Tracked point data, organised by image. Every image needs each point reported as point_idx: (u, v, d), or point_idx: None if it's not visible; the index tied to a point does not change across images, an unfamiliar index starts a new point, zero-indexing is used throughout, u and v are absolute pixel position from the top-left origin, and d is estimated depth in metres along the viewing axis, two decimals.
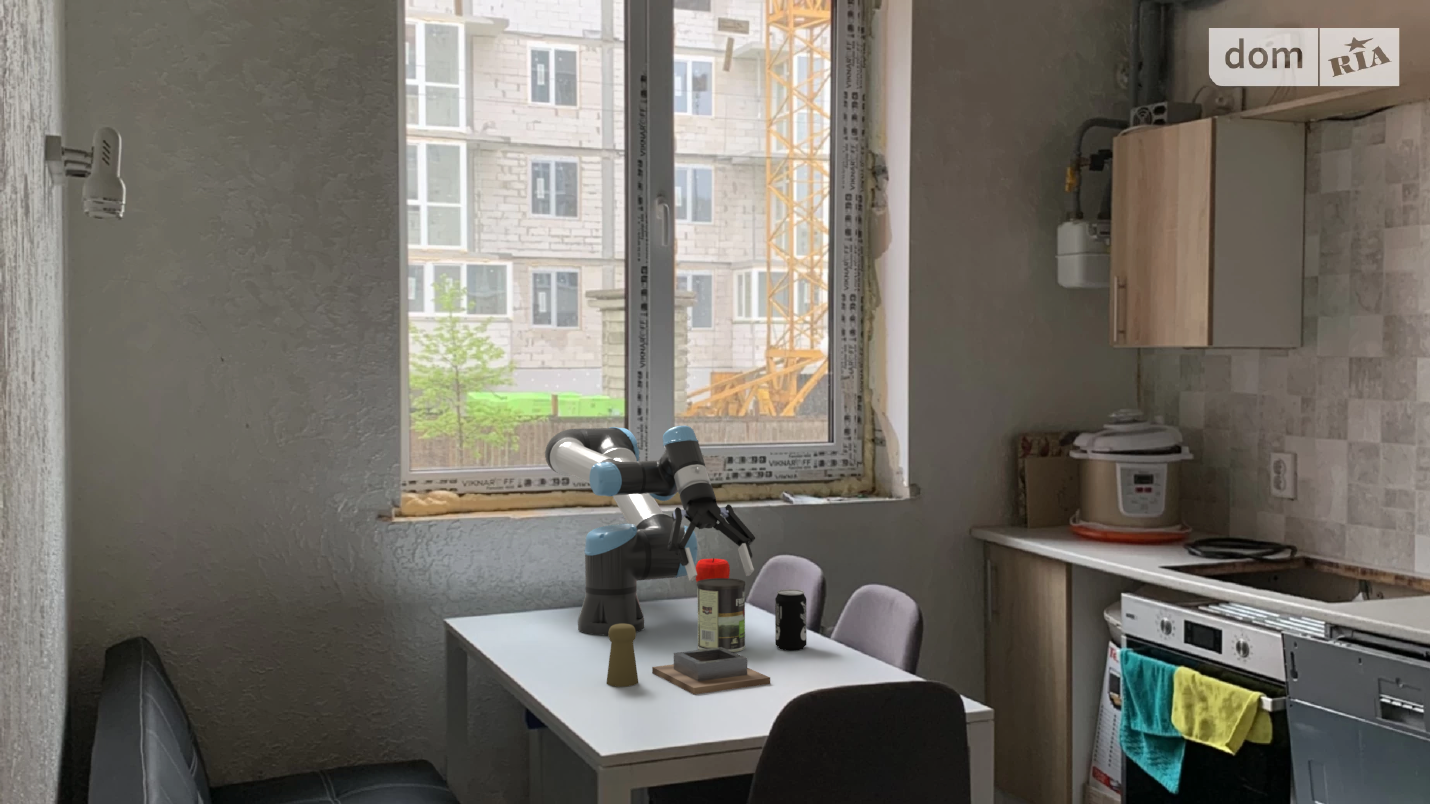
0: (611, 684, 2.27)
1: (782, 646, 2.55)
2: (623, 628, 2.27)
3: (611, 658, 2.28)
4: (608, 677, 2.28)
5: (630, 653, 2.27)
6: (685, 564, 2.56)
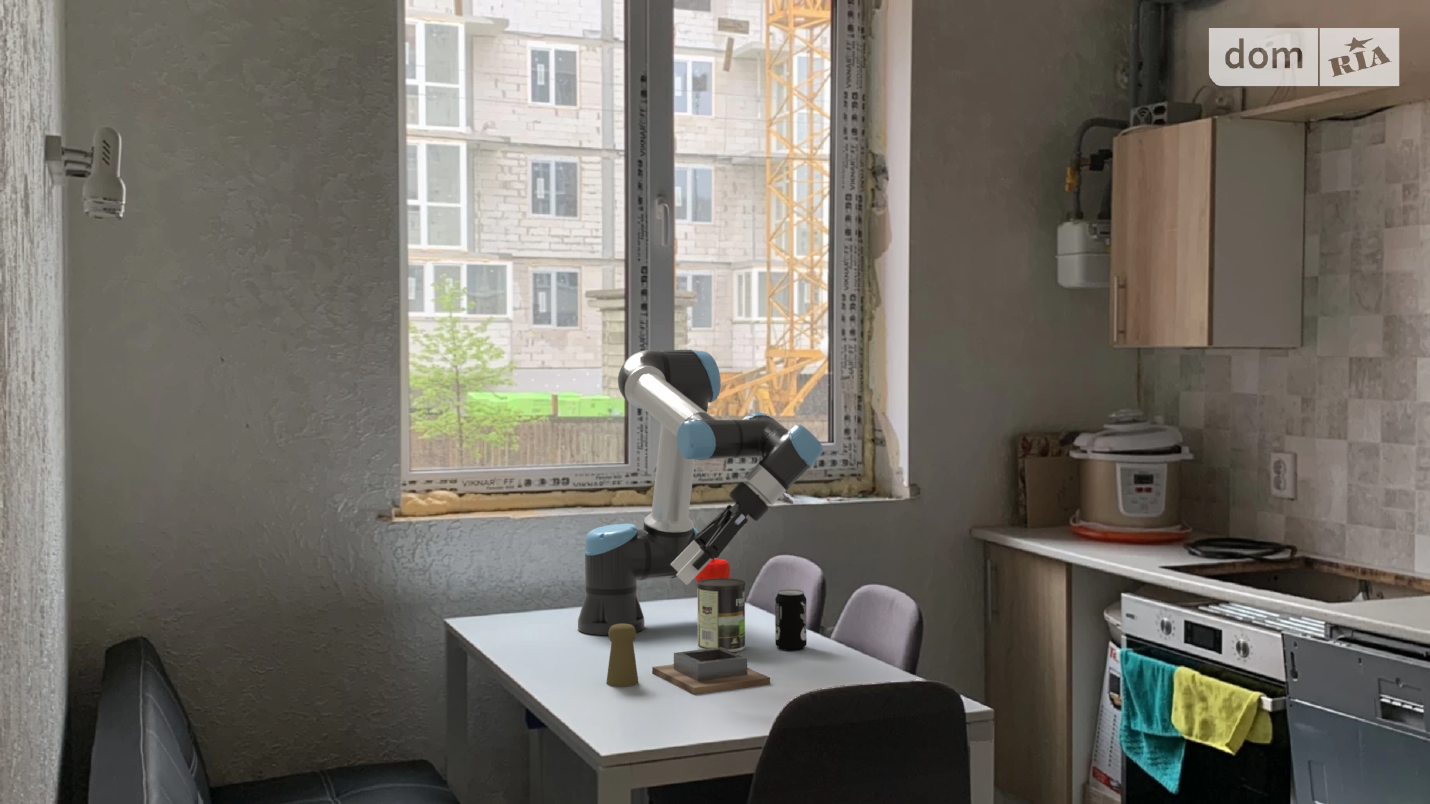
0: (611, 684, 2.27)
1: (782, 646, 2.55)
2: (623, 628, 2.27)
3: (611, 658, 2.28)
4: (608, 677, 2.28)
5: (630, 653, 2.27)
6: (694, 566, 2.23)
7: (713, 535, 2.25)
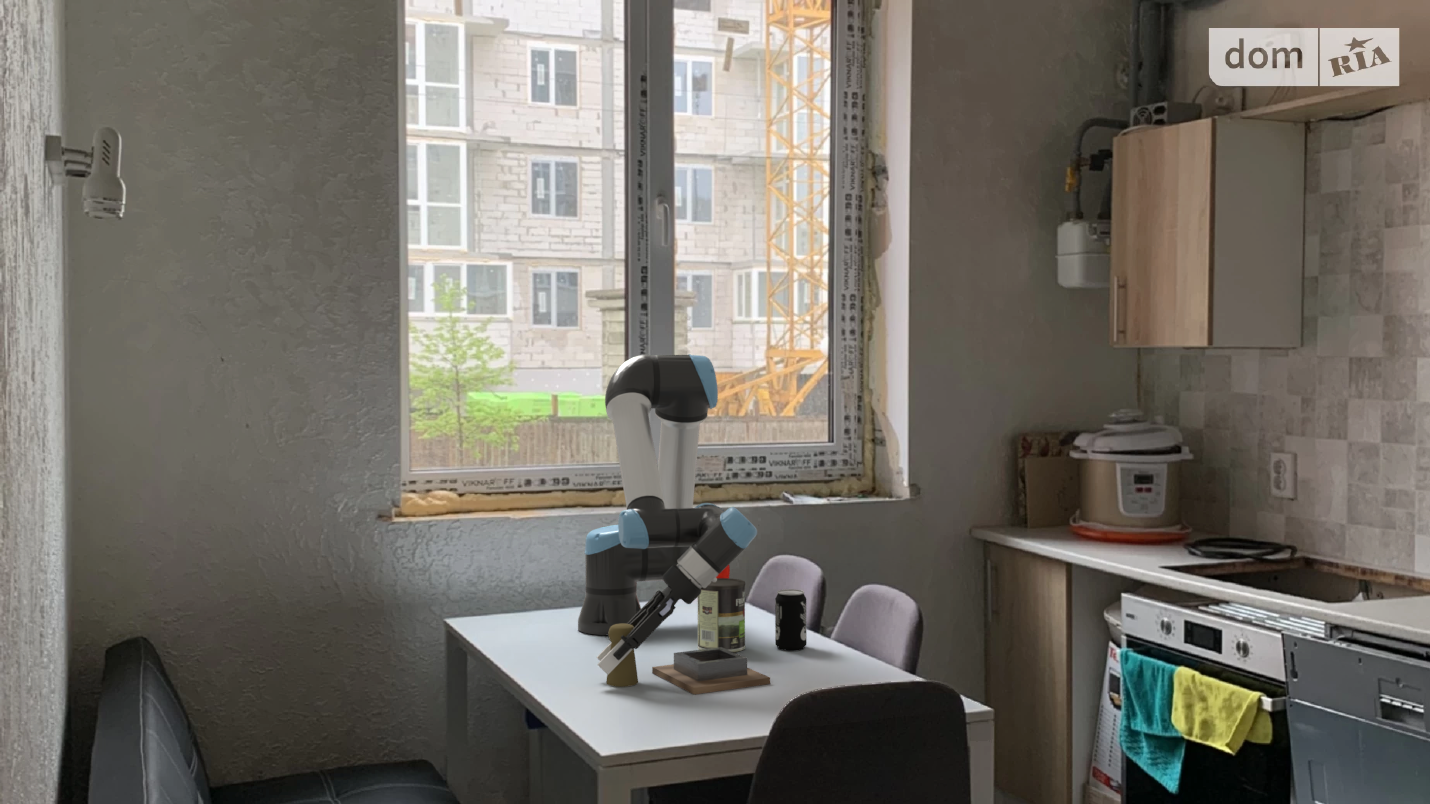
0: (611, 684, 2.27)
1: (782, 646, 2.55)
2: (623, 628, 2.27)
3: None
4: (608, 677, 2.28)
5: (630, 653, 2.27)
6: (614, 656, 2.25)
7: (639, 622, 2.27)
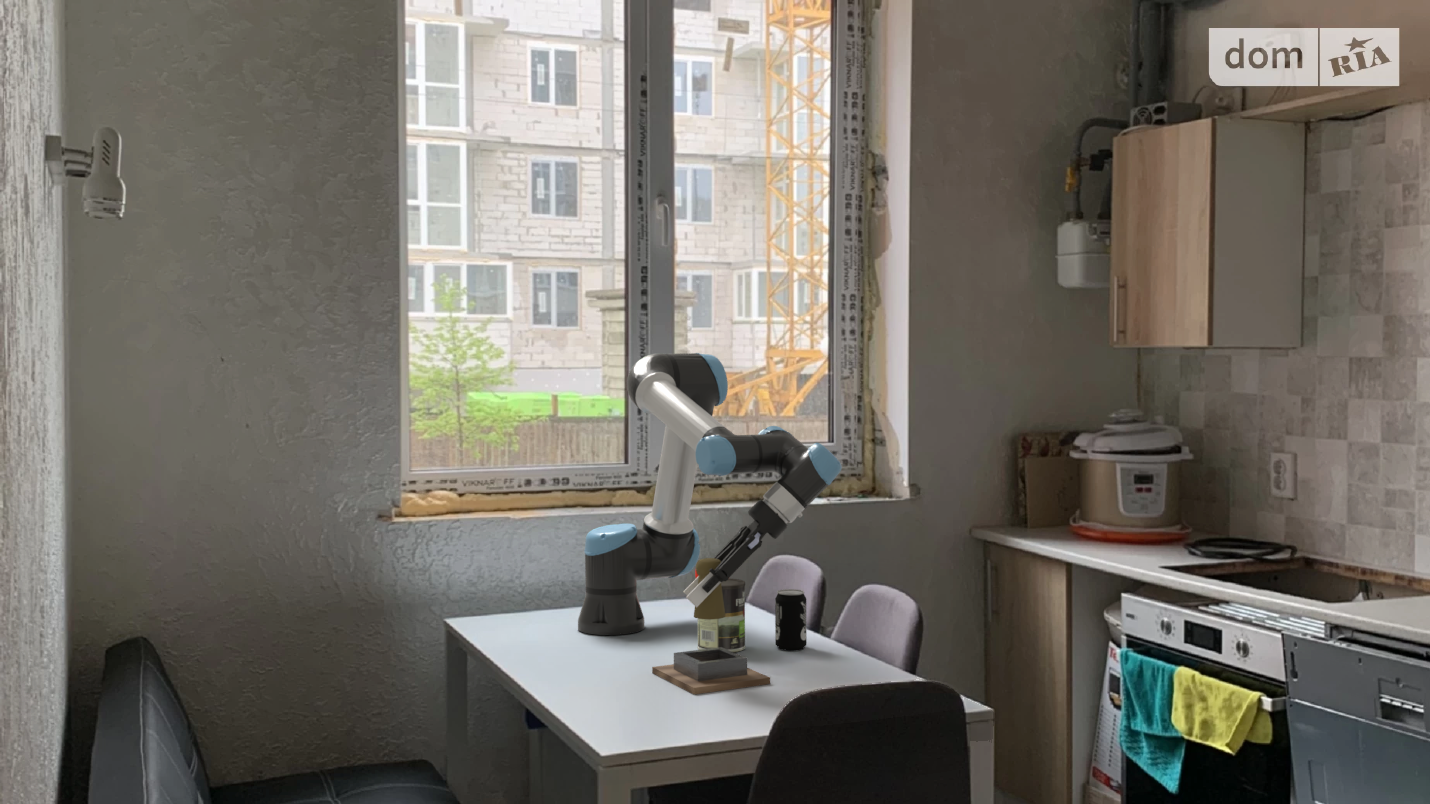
0: (699, 617, 2.29)
1: (782, 646, 2.55)
2: (711, 562, 2.30)
3: None
4: (696, 610, 2.30)
5: (717, 586, 2.30)
6: (703, 589, 2.28)
7: (726, 556, 2.29)
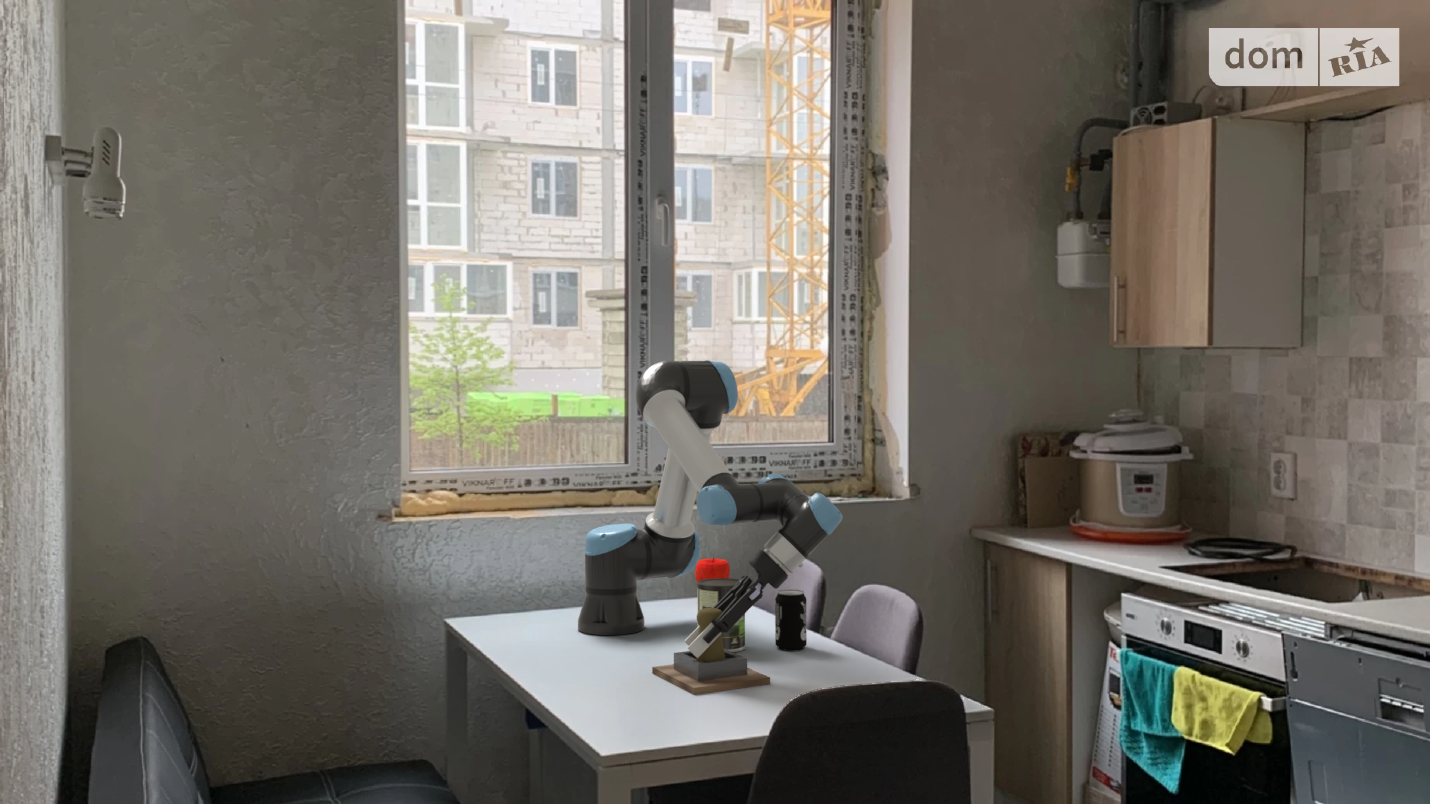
0: None
1: (782, 646, 2.55)
2: (712, 612, 2.30)
3: None
4: None
5: (718, 637, 2.30)
6: (704, 640, 2.28)
7: (727, 606, 2.30)
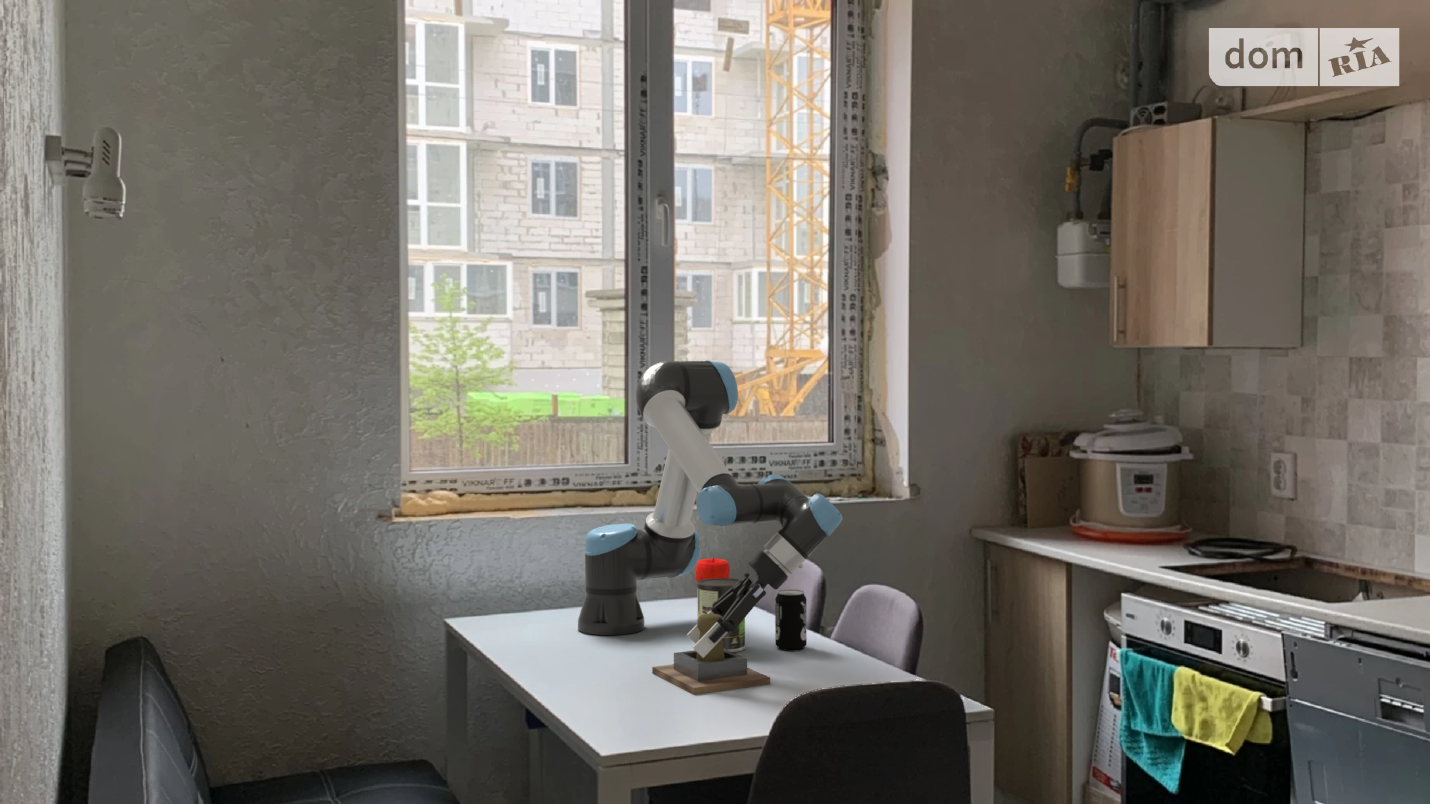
0: None
1: (782, 646, 2.55)
2: (713, 617, 2.30)
3: None
4: None
5: (719, 642, 2.30)
6: (710, 639, 2.25)
7: (731, 606, 2.28)
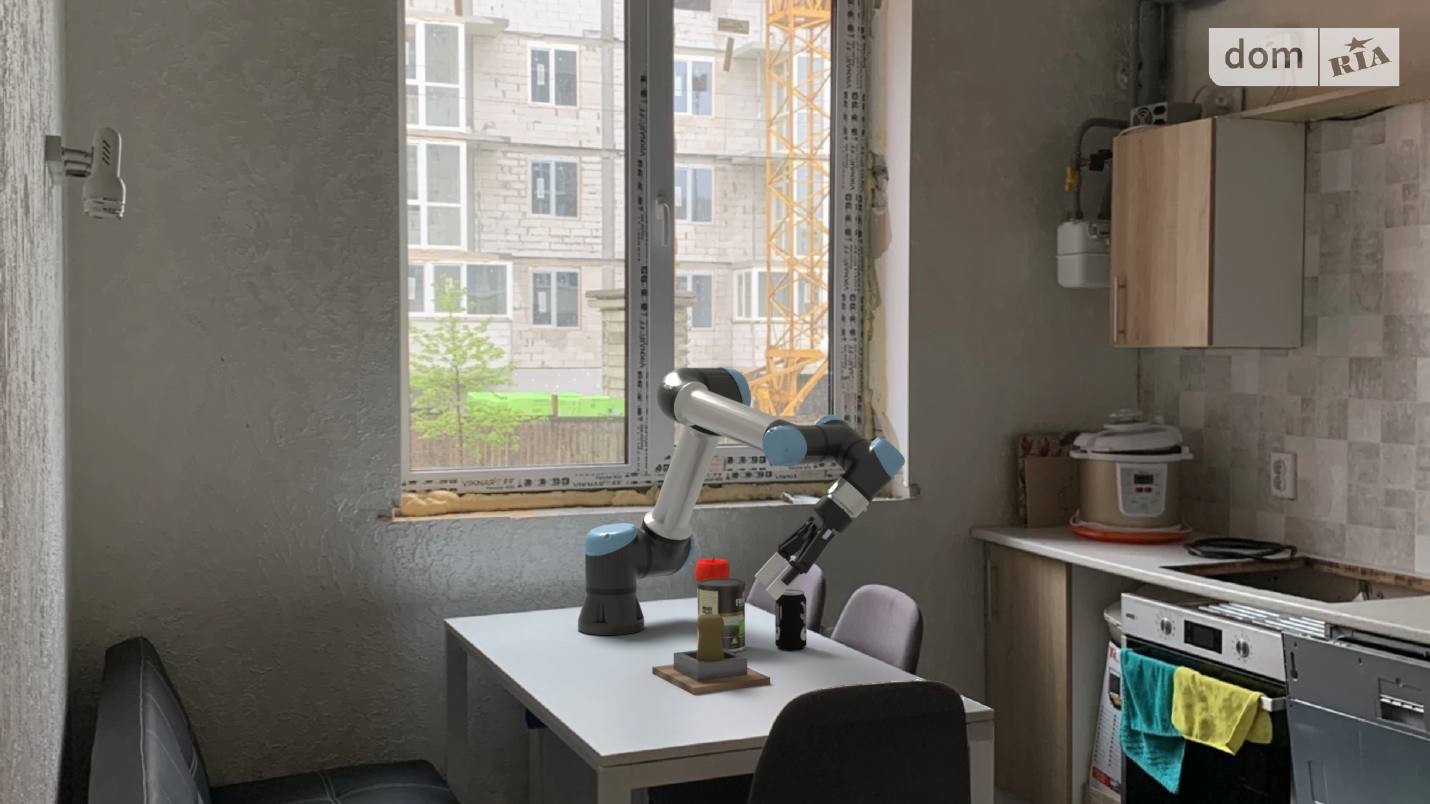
0: None
1: (782, 646, 2.55)
2: (712, 618, 2.30)
3: (700, 648, 2.31)
4: None
5: (718, 643, 2.30)
6: (783, 582, 2.26)
7: (800, 550, 2.29)
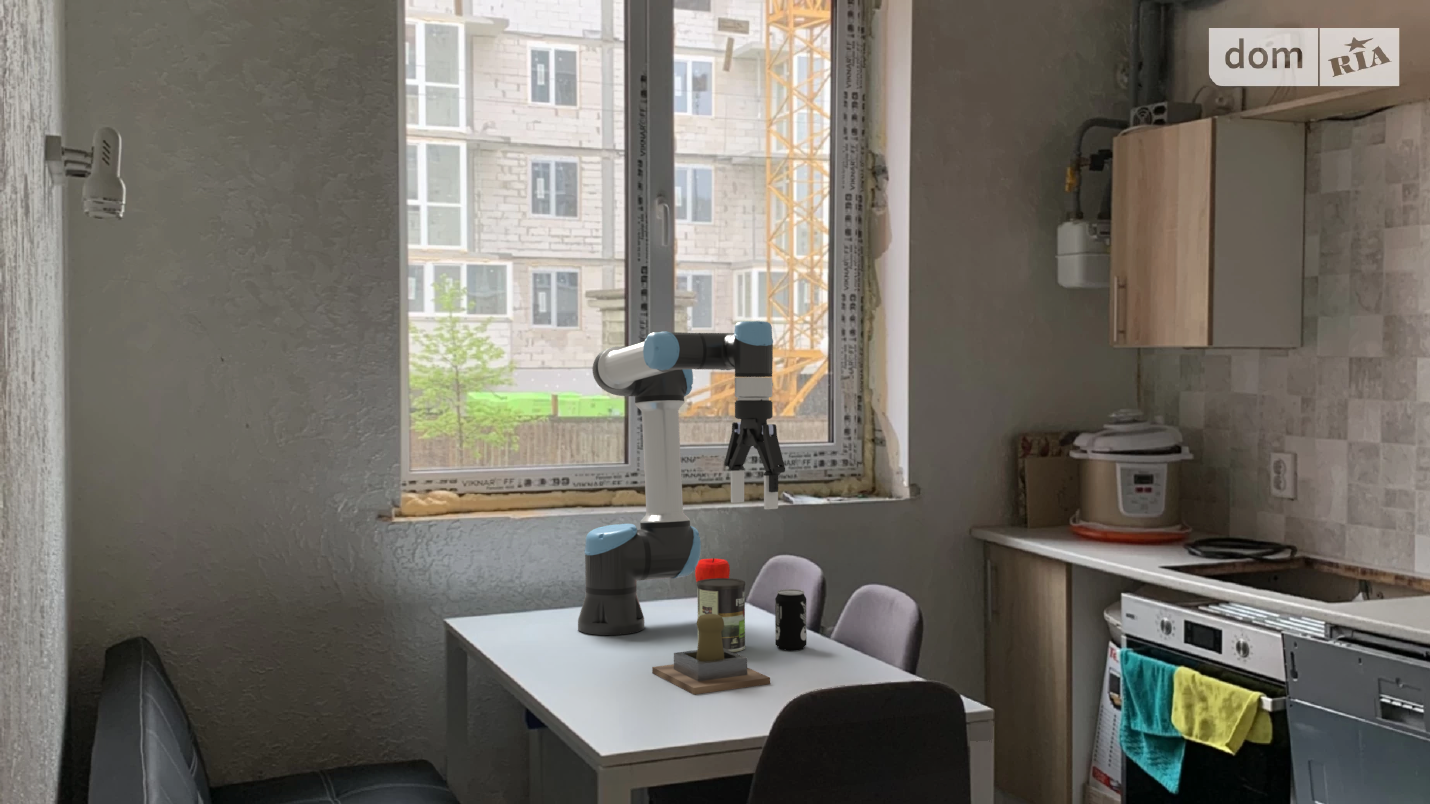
0: None
1: (782, 646, 2.55)
2: (712, 618, 2.30)
3: (700, 648, 2.31)
4: None
5: (718, 643, 2.30)
6: (772, 491, 2.36)
7: (761, 457, 2.37)
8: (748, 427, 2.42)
